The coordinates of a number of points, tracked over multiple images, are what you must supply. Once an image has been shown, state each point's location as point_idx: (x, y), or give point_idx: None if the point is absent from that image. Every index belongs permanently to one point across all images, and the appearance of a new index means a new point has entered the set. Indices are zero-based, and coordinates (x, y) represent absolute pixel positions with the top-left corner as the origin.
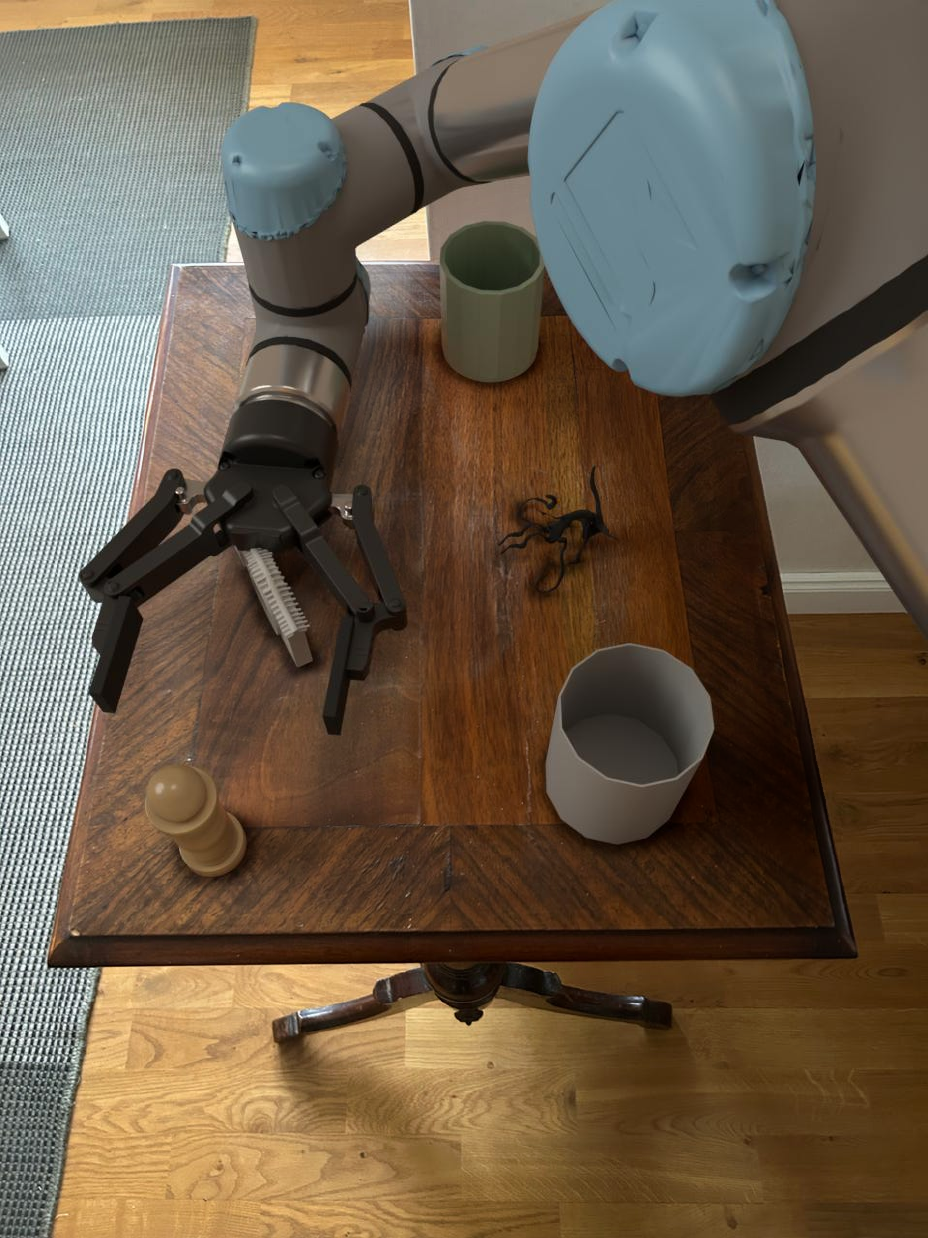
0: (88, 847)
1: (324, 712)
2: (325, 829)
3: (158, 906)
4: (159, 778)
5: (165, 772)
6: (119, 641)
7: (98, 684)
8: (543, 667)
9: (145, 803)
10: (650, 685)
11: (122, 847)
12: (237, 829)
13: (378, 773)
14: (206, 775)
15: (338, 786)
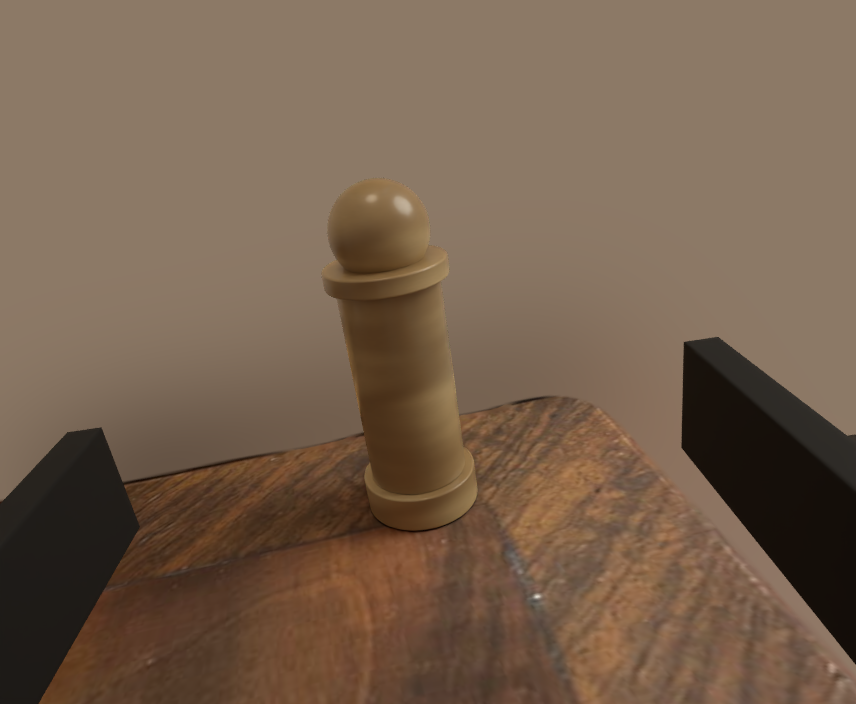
0: (630, 452)
1: (92, 432)
2: (231, 556)
3: (480, 431)
4: (391, 181)
5: (384, 186)
6: (774, 436)
7: (710, 349)
8: None
9: (441, 248)
10: None
11: (575, 463)
12: (376, 485)
13: (98, 669)
14: (345, 280)
15: (196, 625)
